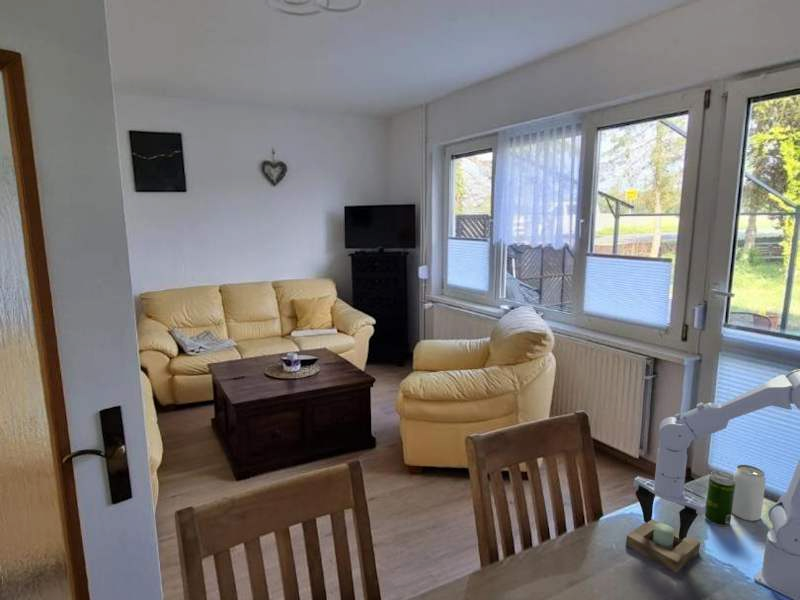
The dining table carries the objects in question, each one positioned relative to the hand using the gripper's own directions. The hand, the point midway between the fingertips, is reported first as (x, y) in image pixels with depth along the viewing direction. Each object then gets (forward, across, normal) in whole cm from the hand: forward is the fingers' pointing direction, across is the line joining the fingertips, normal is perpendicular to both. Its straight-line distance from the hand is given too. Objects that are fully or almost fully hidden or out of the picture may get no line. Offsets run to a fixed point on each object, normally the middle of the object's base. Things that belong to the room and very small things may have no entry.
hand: (664, 528), depth 111 cm
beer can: (+5, -3, -22) cm, 23 cm away
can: (+5, -6, -31) cm, 32 cm away
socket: (+5, 0, 0) cm, 5 cm away
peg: (+5, 0, 0) cm, 5 cm away
